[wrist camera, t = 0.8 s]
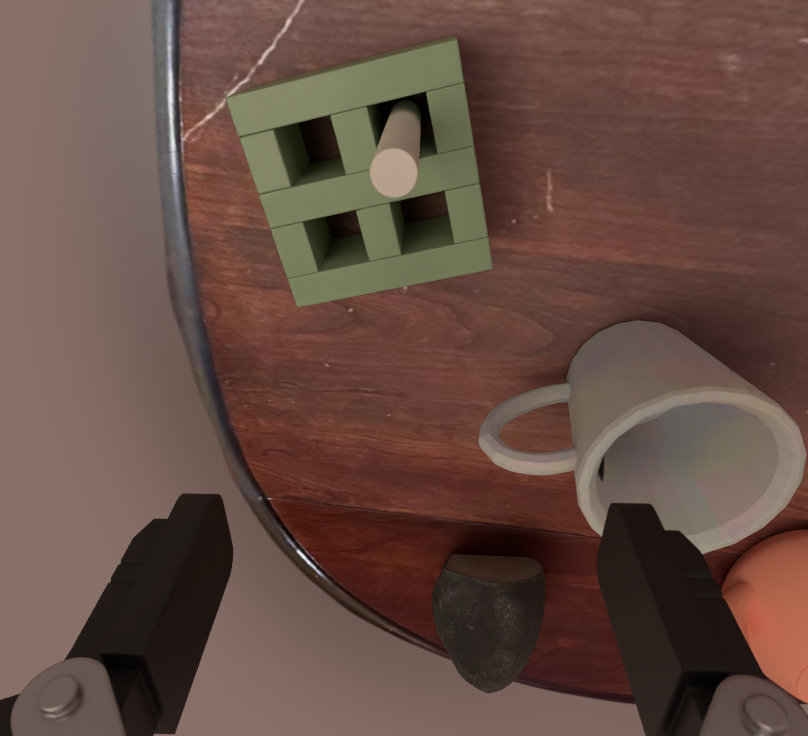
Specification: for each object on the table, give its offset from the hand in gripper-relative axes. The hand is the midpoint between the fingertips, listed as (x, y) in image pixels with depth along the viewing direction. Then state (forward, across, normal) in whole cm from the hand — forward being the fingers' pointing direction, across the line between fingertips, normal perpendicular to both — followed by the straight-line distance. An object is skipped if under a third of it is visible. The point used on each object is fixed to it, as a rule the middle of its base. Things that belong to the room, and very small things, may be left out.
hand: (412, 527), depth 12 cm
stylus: (+23, +1, -5) cm, 23 cm away
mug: (+23, -11, +10) cm, 27 cm away
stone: (+23, -5, +26) cm, 35 cm away
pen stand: (+23, +2, -2) cm, 23 cm away
